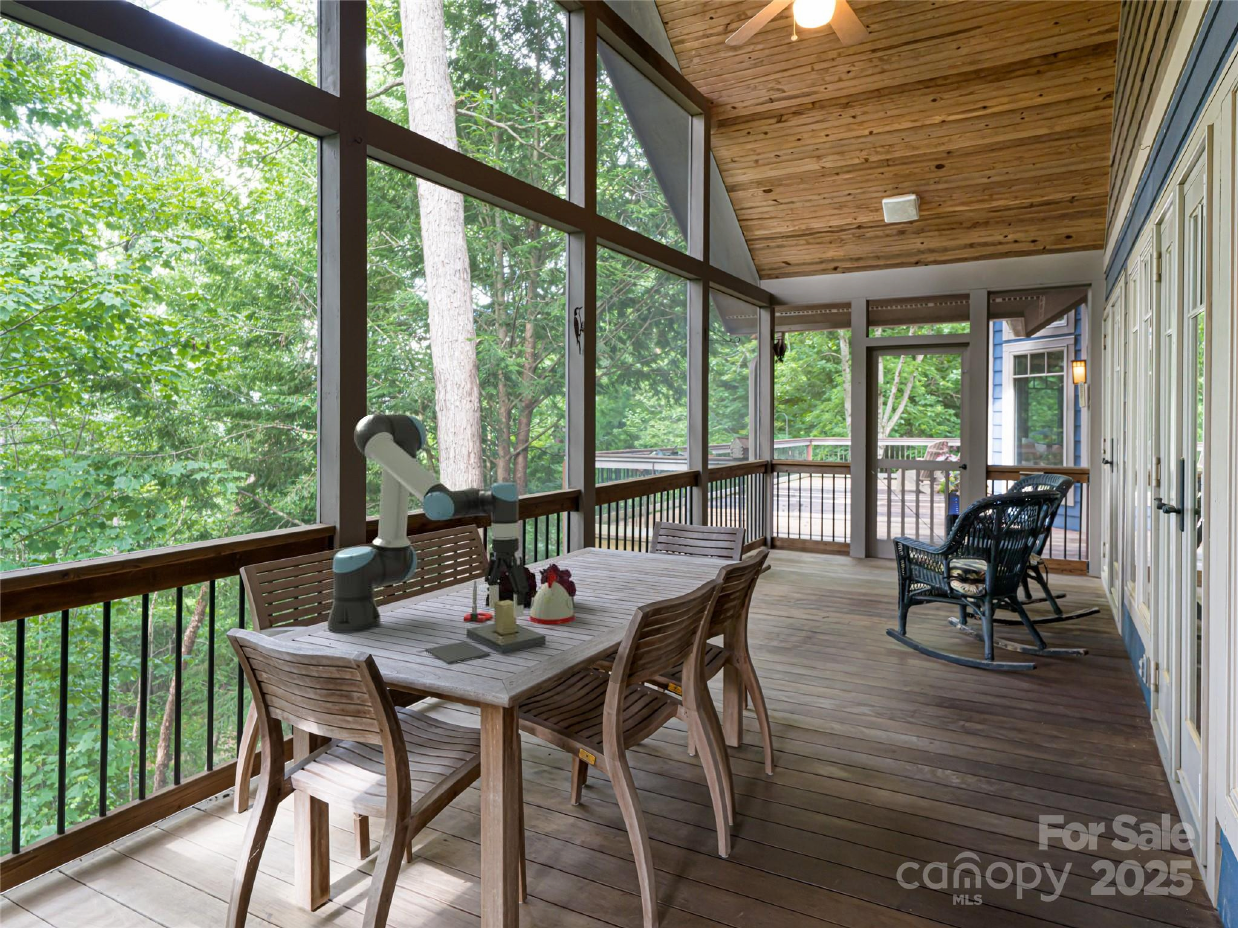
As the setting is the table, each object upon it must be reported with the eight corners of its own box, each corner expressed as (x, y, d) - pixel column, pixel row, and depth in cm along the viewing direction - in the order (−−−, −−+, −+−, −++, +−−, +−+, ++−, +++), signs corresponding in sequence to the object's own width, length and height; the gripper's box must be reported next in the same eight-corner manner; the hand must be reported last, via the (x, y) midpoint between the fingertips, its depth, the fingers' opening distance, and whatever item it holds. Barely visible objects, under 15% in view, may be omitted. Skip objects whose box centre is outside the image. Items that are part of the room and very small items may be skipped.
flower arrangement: (479, 609, 242) (479, 564, 241) (501, 596, 261) (501, 555, 261) (569, 614, 235) (569, 569, 235) (585, 601, 255) (585, 558, 254)
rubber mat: (424, 651, 195) (424, 648, 195) (465, 643, 203) (465, 640, 203) (448, 664, 185) (448, 661, 185) (490, 655, 192) (490, 652, 192)
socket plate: (466, 637, 209) (466, 628, 209) (508, 629, 218) (508, 620, 217) (501, 653, 193) (501, 644, 193) (545, 644, 202) (545, 635, 202)
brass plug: (494, 640, 206) (494, 602, 205) (508, 637, 209) (508, 599, 208) (502, 644, 202) (502, 605, 202) (516, 641, 205) (516, 602, 205)
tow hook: (470, 615, 235) (460, 621, 226) (471, 575, 235) (461, 580, 226) (495, 616, 234) (486, 622, 225) (496, 576, 234) (487, 581, 225)
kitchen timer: (524, 623, 224) (524, 575, 223) (536, 612, 238) (536, 567, 237) (568, 625, 222) (568, 577, 221) (577, 614, 236) (577, 568, 235)
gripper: (540, 541, 197) (541, 618, 198) (494, 531, 216) (495, 602, 217) (517, 543, 192) (517, 622, 193) (472, 534, 211) (473, 606, 212)
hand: (506, 612), depth 205 cm, fingers open, 13 cm apart
